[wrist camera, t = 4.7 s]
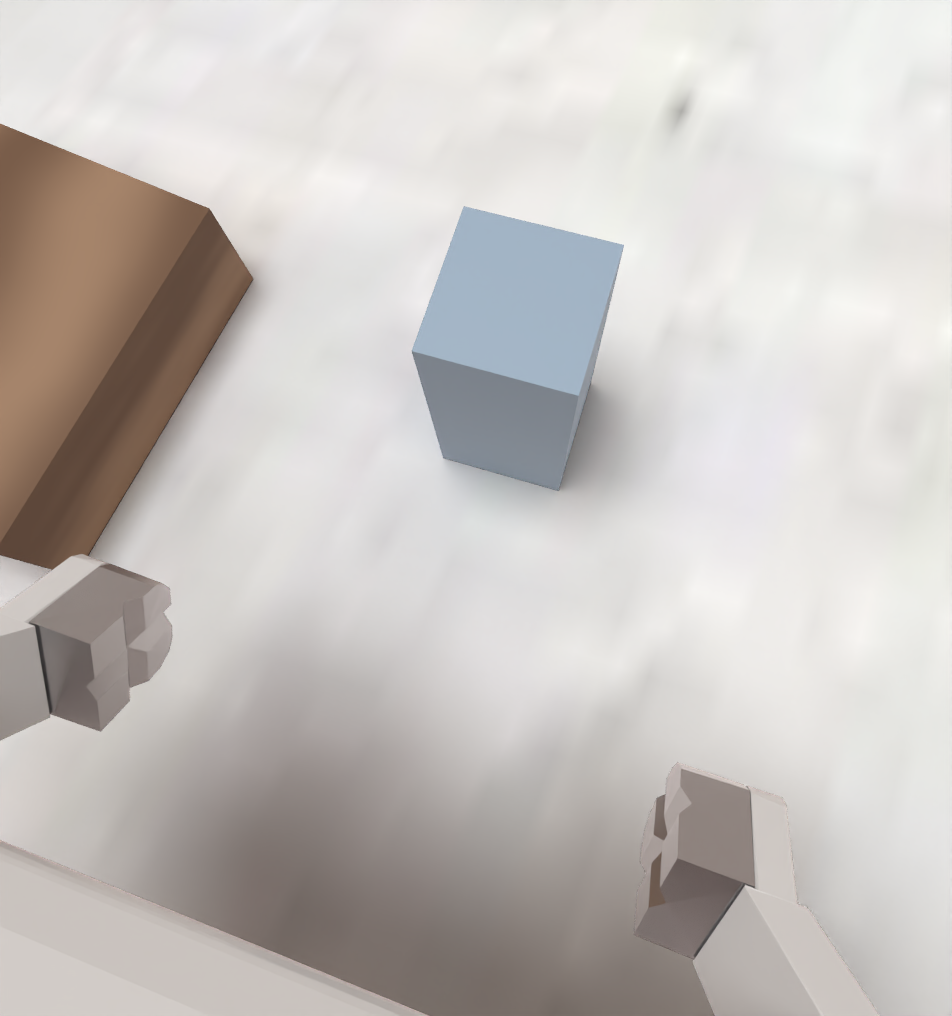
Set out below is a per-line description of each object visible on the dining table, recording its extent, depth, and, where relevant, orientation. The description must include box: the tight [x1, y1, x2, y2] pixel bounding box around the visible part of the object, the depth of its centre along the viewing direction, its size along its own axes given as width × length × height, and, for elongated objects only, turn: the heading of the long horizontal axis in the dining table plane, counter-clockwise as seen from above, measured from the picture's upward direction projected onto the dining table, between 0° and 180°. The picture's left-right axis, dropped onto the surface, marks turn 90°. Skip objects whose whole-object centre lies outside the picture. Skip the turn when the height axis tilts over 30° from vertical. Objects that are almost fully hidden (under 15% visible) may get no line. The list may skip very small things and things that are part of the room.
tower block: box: [412, 207, 624, 491], centre depth 21 cm, size 4×4×8 cm
